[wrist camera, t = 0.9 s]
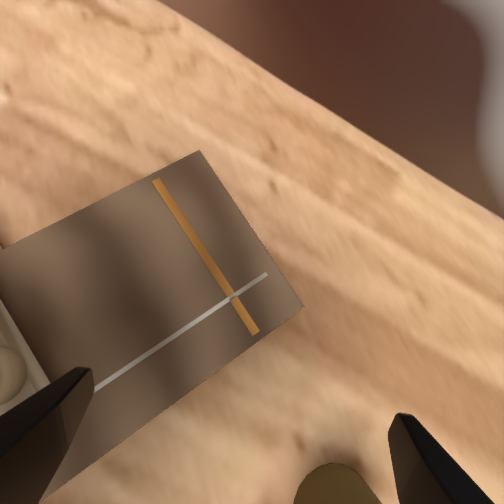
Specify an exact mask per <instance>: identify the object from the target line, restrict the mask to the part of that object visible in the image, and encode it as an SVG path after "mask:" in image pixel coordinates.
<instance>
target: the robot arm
mask: <svg viewBox="0 0 504 504" xmlns="http://www.w3.org/2000/svg"><path fill="white" fill-rule="evenodd" d="M94 389H95V386H94V378H93V371H92V369H91V368H89V367H82V366H77V367H75V368H73V369H72V370H70V371H69V372H67V373H65V374H64V375H62V376H61V377H59V378H58V379H56V380H55V381H53V382H52V383H50V384H48V385H47V386H45V387H44V388H42V389H41V390H39V391H38V392H36V393H35V394H33V395H31V396H30V397H28V398H27V399H25V400H24V401H22V402H21V403H19V404H18V405H16V406H14V407H13V408H11V409H10V410H8V411H7V412H5V413H4V414H2V415H0V504H38V503H39V501H40V500H41V498H42V496H43V494H44V493H45V491H46V489H47V487H48V486H49V484H50V482H51V480H52V478H53V477H54V475H55V473H56V471H57V470H58V468H59V466H60V464H61V463H62V461H63V459H64V457H65V455H66V454H67V452H68V450H69V448H70V446H71V444H72V441H73V439H74V437H75V435H76V433H77V430H78V428H79V426H80V424H81V421H82V419H83V417H84V415H85V412H86V410H87V408H88V406H89V403H90V401H91V399H92V397H93V394H94ZM388 442H389V448H390V454H391V460H392V465H393V471H394V477H395V483H396V489H397V494H398V499H399V503H400V504H494V503H493V502H492V500H491V499H490V498H489V497H488V496H487V495H486V494H485V493H484V492H483V491H482V490H481V489H480V487H479V486H478V485H477V484H476V483H475V482H474V481H473V480H472V479H471V478H470V477H469V475H468V474H467V473H466V472H465V471H464V470H463V469H462V468H461V467H460V466H459V465H458V464H457V462H456V461H455V460H454V459H453V458H452V457H451V456H450V455H449V454H448V453H447V452H446V450H445V449H444V448H443V447H442V446H441V445H440V444H439V443H438V442H437V441H436V440H435V439H434V437H433V436H432V435H431V434H430V433H429V432H428V431H427V430H426V429H425V428H424V427H423V425H422V424H421V423H420V422H419V421H418V420H417V419H416V418H415V417H414V416H413V415H411V414H406V413H397V414H396V415H395V417H394V420H393V422H392V424H391V426H390V428H389V431H388Z"/></svg>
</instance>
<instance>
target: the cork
mask: <svg viewBox="0 0 504 504" xmlns="http://www.w3.org/2000/svg"><path fill="white" fill-rule="evenodd" d="M294 504H382V503H381V502H380V501H379V499H378V498H377V497H376V495H375V494H374V493H373V491H372V490H371V489H370V487H369V486H368V485H367V483H366V482H365V481H364V480H363V478H362V477H361V476H360V475H359V474H358V473H357V472H356V471H355V470H354V469H352V468H349V467H347V466H345V465H343V464H333V463H330V464H327V465H323V466H320V467H318V468H316V469H315V470H314V471H312V472H311V473H310V474H308V475H307V477H306V478H305V479H304V481H303V482H302V483H301V485H300V486H299V489H298V491H297V494H296V497H295V499H294Z"/></svg>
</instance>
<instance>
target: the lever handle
mask: <svg viewBox="0 0 504 504" xmlns="http://www.w3.org/2000/svg"><path fill="white" fill-rule="evenodd" d="M1 250H3V249H2V247H1V246H0V251H1ZM48 384H50V381H49V380H48V378H47V376H46V375H45V373H44V371H43V370H42V368H41V366H40V365H39V363H38V361H37V360H36V358H35V356H34V355H33V353H32V351H31V349H30V348H29V346H28V344H27V343H26V341H25V339H24V338H23V336H22V334H21V333H20V331H19V329H18V328H17V326H16V324H15V323H14V321H13V319H12V318H11V316H10V314H9V313H8V311H7V309H6V308H5V306H4V304H3V303H2V301H1V299H0V415H2V414H4V413H5V412H7V411H8V410H10V409H11V408H13V407H14V406H16V405H18V404H19V403H21V402H22V401H24V400H25V399H27V398H28V397H30V396H31V395H33V394H35V393H36V392H38V391H39V390H41V389H42V388H44V387H45V386H47V385H48Z"/></svg>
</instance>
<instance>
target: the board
mask: <svg viewBox="0 0 504 504" xmlns="http://www.w3.org/2000/svg"><path fill="white" fill-rule="evenodd" d="M0 299H1V301H2V303H3V304H4V306H5V308H6V309H7V311H8V313H9V314H10V316H11V318H12V319H13V321H14V323H15V324H16V326H17V328H18V329H19V331H20V333H21V334H22V336H23V338H24V339H25V341H26V343H27V344H28V346H29V348H30V349H31V351H32V353H33V355H34V356H35V358H36V360H37V361H38V363H39V365H40V366H41V368H42V370H43V371H44V373H45V375H46V376H47V378H48V380H49V381H50V383H52V382H53V381H55V380H56V379H58V378H59V377H61V376H62V375H64V374H65V373H67V372H69V371H70V370H72V369H73V368H75V367H77V366H82V367H89V368H91V369H92V371H93V378H94V386H95V389H94V394H93V397H92V399H91V401H90V403H89V406H88V408H87V410H86V412H85V415H84V417H83V419H82V421H81V424H80V426H79V428H78V430H77V433H76V435H75V437H74V439H73V441H72V444H71V446H70V448H69V450H68V452H67V454H66V455H65V457H64V459H63V461H62V463H61V464H60V466H59V468H58V470H57V471H56V473H55V475H54V477H53V478H52V480H51V482H50V484H49V486H48V487H47V489H46V491H45V493H44V494H43V496H42V498H41V500H40V501H39V502H41V501H42V500H43V499H45V498H46V497H47V496H49V495H50V494H51V493H53V492H54V491H56V490H57V489H58V488H60V487H61V486H62V485H64V484H65V483H66V482H68V481H69V480H70V479H72V478H73V477H75V476H76V475H77V474H79V473H80V472H81V471H83V470H84V469H85V468H87V467H88V466H89V465H91V464H92V463H94V462H95V461H96V460H98V459H99V458H100V457H102V456H103V455H104V454H106V453H107V452H108V451H110V450H111V449H112V448H114V447H115V446H117V445H118V444H119V443H121V442H122V441H123V440H125V439H126V438H127V437H129V436H130V435H131V434H133V433H134V432H136V431H137V430H138V429H140V428H141V427H142V426H144V425H145V424H146V423H148V422H149V421H150V420H152V419H153V418H154V417H156V416H157V415H159V414H160V413H161V412H163V411H164V410H165V409H167V408H168V407H169V406H171V405H172V404H173V403H175V402H176V401H178V400H179V399H180V398H182V397H183V396H184V395H186V394H187V393H188V392H190V391H191V390H192V389H194V388H195V387H197V386H198V385H199V384H201V383H202V382H203V381H205V380H206V379H207V378H209V377H210V376H211V375H213V374H214V373H215V372H217V371H218V370H220V369H221V368H222V367H224V366H225V365H226V364H228V363H229V362H230V361H232V360H233V359H234V358H236V357H237V356H239V355H240V354H241V353H243V352H244V351H245V350H247V349H248V348H249V347H251V346H252V345H253V344H255V343H256V342H257V341H259V340H260V339H262V338H263V337H264V336H266V335H267V334H268V333H270V332H271V331H272V330H274V329H275V328H276V327H278V326H279V325H281V324H282V323H283V322H285V321H286V320H287V319H289V318H290V317H291V316H293V315H294V314H295V313H297V312H298V311H300V310H301V309H302V308H304V305H303V304H302V302H301V301H300V299H299V298H298V296H297V295H296V293H295V292H294V290H293V289H292V287H291V286H290V284H289V283H288V281H287V280H286V278H285V277H284V275H283V274H282V272H281V271H280V269H279V268H278V266H277V265H276V263H275V262H274V260H273V259H272V257H271V256H270V254H269V253H268V251H267V250H266V248H265V247H264V245H263V244H262V242H261V241H260V240H259V238H258V237H257V235H256V234H255V232H254V231H253V229H252V228H251V226H250V225H249V223H248V222H247V220H246V219H245V217H244V216H243V214H242V213H241V211H240V210H239V208H238V207H237V205H236V204H235V202H234V201H233V199H232V198H231V196H230V195H229V193H228V192H227V190H226V189H225V187H224V186H223V184H222V183H221V181H220V180H219V178H218V177H217V175H216V174H215V172H214V171H213V169H212V168H211V166H210V165H209V163H208V162H207V160H206V159H205V158H204V156H203V155H202V153H201V152H200V150H198V151H196V152H194V153H192V154H190V155H188V156H186V157H184V158H182V159H180V160H178V161H176V162H175V163H173V164H171V165H169V166H167V167H165V168H163V169H161V170H159V171H157V172H155V173H153V174H151V175H149V176H147V177H145V178H143V179H141V180H139V181H137V182H135V183H133V184H131V185H129V186H127V187H125V188H123V189H121V190H119V191H117V192H115V193H113V194H111V195H109V196H107V197H105V198H103V199H101V200H99V201H97V202H95V203H93V204H92V205H90V206H88V207H86V208H84V209H82V210H80V211H78V212H76V213H74V214H72V215H70V216H68V217H66V218H64V219H62V220H60V221H58V222H56V223H54V224H52V225H50V226H48V227H46V228H44V229H42V230H40V231H38V232H36V233H34V234H32V235H30V236H28V237H26V238H24V239H22V240H20V241H18V242H16V243H14V244H12V245H11V246H9V247H7V248H5V249H3V250H1V251H0Z"/></svg>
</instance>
